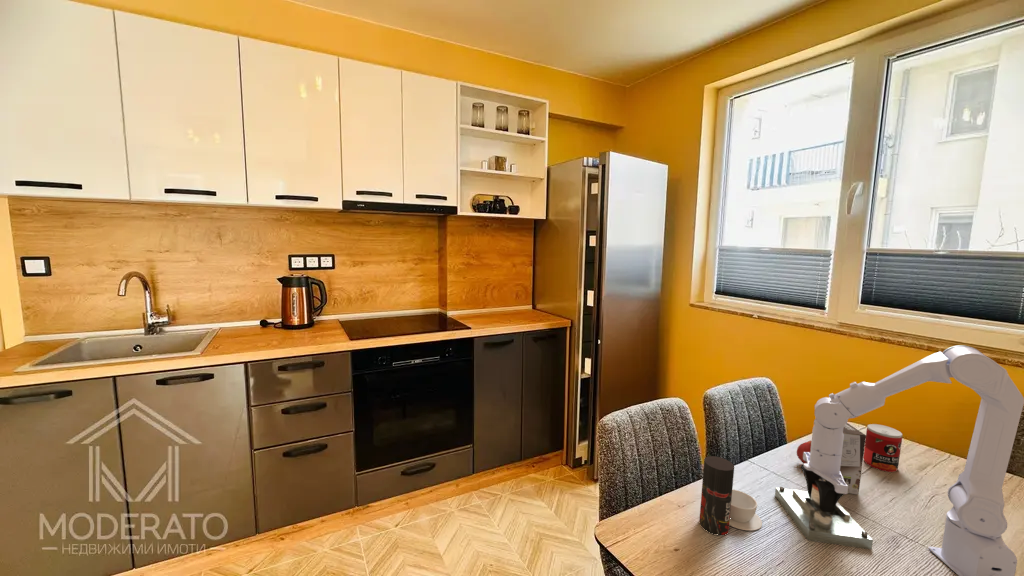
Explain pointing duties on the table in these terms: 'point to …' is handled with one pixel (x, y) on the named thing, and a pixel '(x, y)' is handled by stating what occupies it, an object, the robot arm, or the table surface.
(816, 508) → the spout can
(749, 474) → the table surface
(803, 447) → the onion
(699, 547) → the table surface
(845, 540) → the mounting plate with knobs
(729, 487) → the deodorant
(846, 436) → the coffee box
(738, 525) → the teacup
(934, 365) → the robot arm
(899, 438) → the canned food
